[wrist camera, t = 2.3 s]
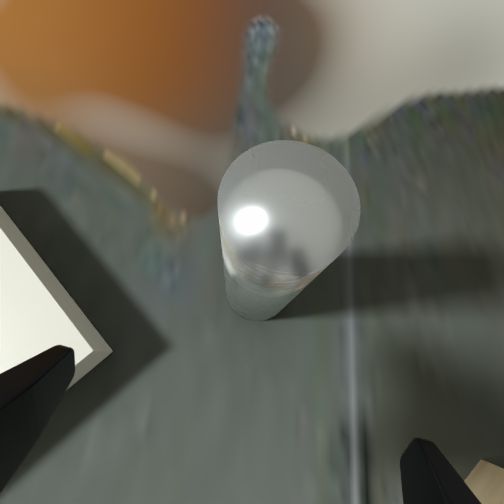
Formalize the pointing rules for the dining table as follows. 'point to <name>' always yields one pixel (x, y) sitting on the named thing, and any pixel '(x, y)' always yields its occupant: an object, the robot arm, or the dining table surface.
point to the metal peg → (282, 223)
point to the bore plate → (39, 309)
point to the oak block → (487, 483)
